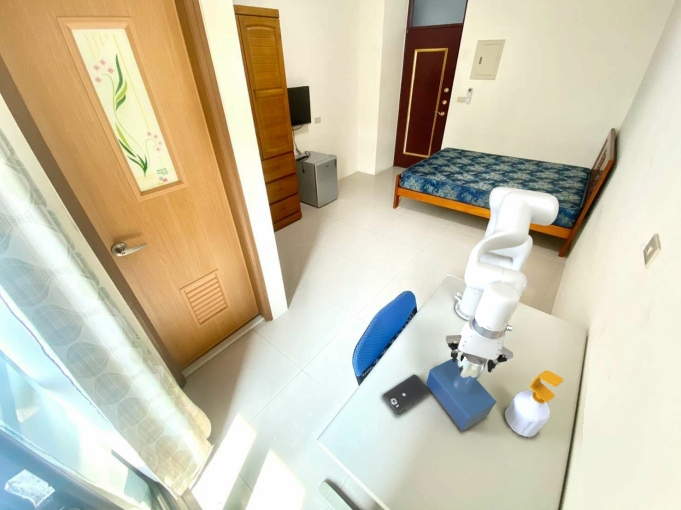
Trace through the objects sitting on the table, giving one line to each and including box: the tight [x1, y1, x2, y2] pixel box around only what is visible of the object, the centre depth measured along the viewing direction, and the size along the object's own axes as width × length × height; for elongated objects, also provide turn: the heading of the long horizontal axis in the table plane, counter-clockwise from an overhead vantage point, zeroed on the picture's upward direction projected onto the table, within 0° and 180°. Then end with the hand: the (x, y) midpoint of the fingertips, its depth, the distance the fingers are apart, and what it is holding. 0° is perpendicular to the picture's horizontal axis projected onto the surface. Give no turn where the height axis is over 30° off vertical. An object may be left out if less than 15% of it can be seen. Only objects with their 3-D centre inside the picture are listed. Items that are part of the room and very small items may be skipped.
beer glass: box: [452, 352, 488, 393], centre depth 84 cm, size 7×7×15 cm
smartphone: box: [382, 374, 430, 416], centre depth 95 cm, size 8×15×1 cm, turn 121°
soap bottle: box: [504, 369, 564, 438], centre depth 81 cm, size 9×9×25 cm
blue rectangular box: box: [425, 357, 497, 432], centre depth 91 cm, size 17×11×10 cm, turn 25°
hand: (470, 362), depth 82 cm, fingers open, 9 cm apart
